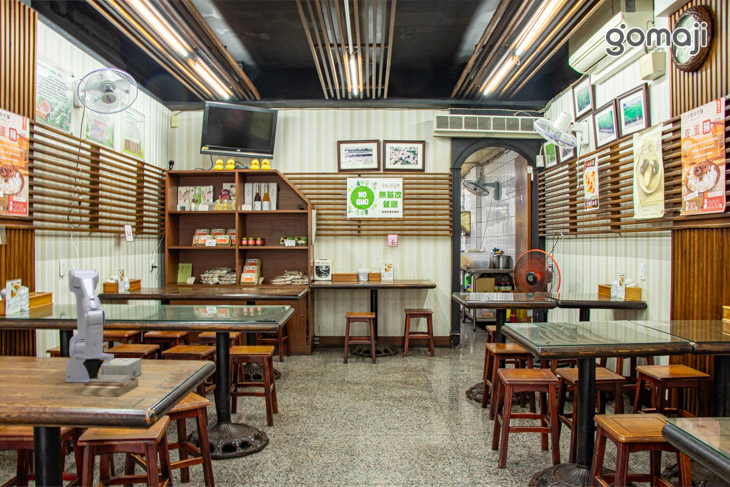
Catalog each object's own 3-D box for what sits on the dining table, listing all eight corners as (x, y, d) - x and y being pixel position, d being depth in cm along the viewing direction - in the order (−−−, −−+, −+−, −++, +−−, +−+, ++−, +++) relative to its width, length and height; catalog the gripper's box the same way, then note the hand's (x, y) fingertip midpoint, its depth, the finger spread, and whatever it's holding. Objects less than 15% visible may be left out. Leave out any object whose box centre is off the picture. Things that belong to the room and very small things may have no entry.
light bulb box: (142, 373, 181) (116, 373, 182) (141, 357, 181) (116, 357, 182) (127, 381, 171) (100, 381, 171) (127, 364, 171) (100, 364, 171)
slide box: (80, 395, 155) (80, 385, 155) (103, 385, 167) (103, 375, 167) (118, 396, 154) (118, 386, 154) (138, 386, 166) (138, 376, 166)
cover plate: (90, 384, 158) (90, 378, 158) (100, 380, 163) (100, 374, 163) (122, 385, 157) (122, 379, 157) (131, 380, 162) (131, 375, 162)
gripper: (67, 344, 157) (66, 382, 157) (105, 345, 156) (104, 383, 156) (81, 340, 164) (80, 376, 164) (117, 341, 163) (117, 377, 163)
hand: (93, 379), depth 161 cm, fingers closed
